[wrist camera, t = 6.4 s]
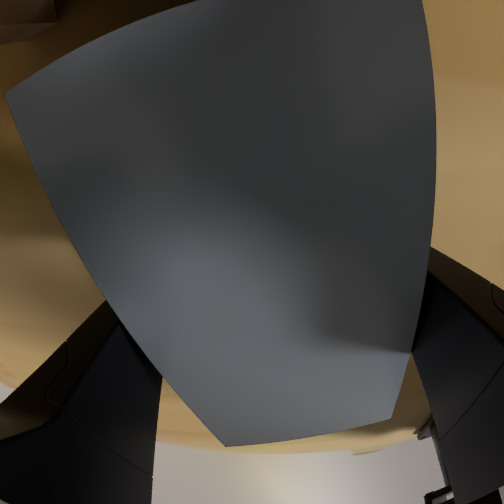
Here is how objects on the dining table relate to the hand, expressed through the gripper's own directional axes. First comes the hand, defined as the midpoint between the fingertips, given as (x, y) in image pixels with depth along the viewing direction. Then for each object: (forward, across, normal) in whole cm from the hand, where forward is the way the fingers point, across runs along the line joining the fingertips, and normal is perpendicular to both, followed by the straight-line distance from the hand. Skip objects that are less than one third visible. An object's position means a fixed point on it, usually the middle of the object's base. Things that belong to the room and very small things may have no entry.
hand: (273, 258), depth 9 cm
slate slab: (+1, 0, 0) cm, 1 cm away
